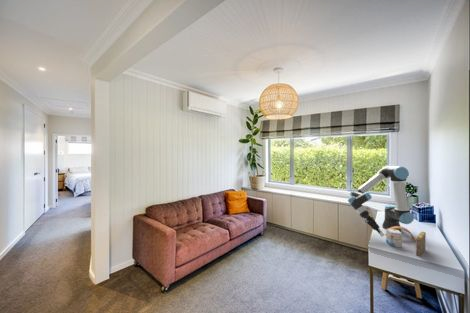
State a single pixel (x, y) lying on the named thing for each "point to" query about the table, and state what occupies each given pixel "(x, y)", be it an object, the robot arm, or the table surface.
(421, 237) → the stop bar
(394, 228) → the arch
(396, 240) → the ink box
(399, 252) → the table surface
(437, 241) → the table surface
